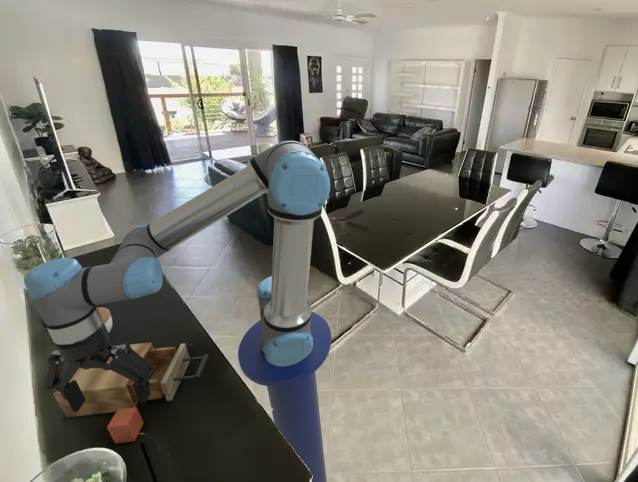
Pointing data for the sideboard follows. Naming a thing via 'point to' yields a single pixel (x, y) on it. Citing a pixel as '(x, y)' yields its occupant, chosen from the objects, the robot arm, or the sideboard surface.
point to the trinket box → (106, 318)
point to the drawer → (168, 371)
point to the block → (125, 425)
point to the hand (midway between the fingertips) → (113, 402)
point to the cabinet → (102, 389)
